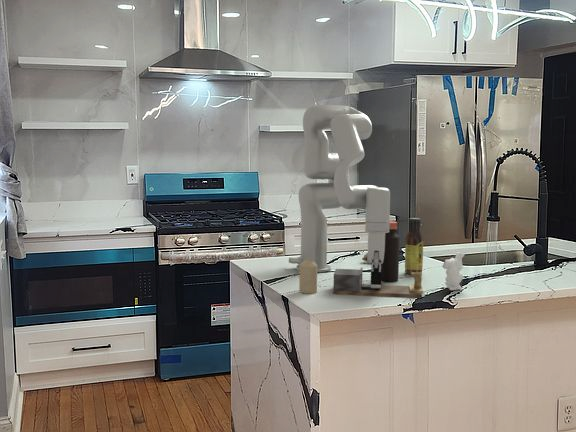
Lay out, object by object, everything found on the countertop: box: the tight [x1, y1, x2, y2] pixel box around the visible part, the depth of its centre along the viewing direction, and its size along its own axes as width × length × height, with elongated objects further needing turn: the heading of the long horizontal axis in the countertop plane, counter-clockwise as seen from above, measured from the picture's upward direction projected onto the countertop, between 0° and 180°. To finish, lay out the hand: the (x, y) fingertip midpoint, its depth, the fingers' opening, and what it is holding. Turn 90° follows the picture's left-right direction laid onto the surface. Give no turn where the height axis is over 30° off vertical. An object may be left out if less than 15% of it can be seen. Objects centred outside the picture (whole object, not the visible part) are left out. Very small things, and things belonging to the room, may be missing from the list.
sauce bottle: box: [404, 217, 424, 275], centre depth 240 cm, size 6×6×20 cm
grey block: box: [361, 264, 382, 289], centre depth 212 cm, size 14×4×7 cm, turn 82°
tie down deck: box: [332, 267, 424, 299], centre depth 212 cm, size 28×11×7 cm, turn 82°
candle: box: [298, 260, 318, 295], centre depth 211 cm, size 6×6×10 cm
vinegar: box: [381, 220, 401, 283], centre depth 228 cm, size 7×7×20 cm
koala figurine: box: [441, 251, 466, 291], centre depth 216 cm, size 8×7×12 cm
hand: (376, 281), depth 212 cm, fingers open, 9 cm apart
